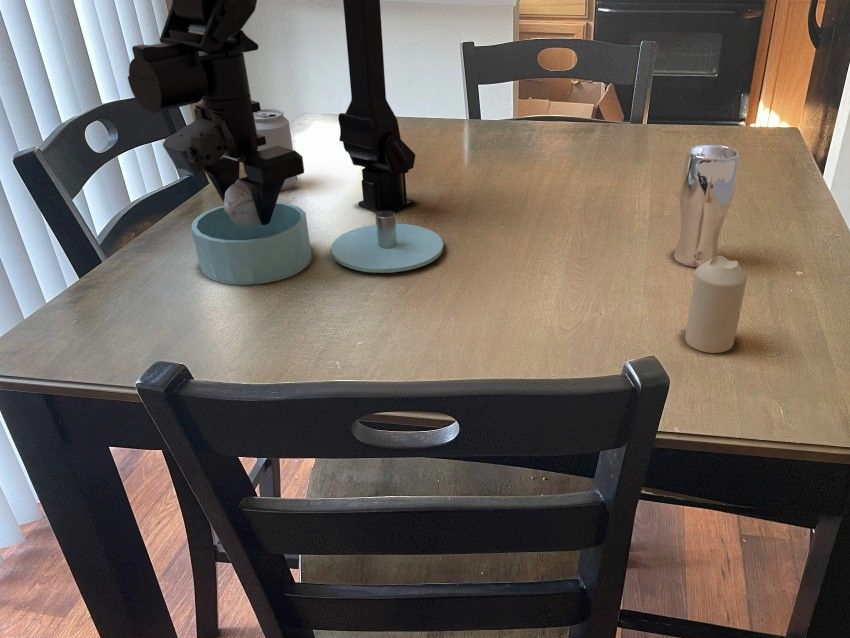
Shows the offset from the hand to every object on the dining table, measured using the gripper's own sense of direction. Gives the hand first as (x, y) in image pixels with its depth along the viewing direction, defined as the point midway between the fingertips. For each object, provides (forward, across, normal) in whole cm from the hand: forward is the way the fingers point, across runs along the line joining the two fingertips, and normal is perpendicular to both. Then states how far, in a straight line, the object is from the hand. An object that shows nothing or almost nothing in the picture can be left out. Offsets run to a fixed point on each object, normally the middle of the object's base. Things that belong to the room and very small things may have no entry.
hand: (249, 218), depth 101 cm
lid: (+6, +12, +13) cm, 19 cm away
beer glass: (+6, +47, +38) cm, 61 cm away
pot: (+6, 0, 0) cm, 6 cm away
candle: (+6, +58, +18) cm, 61 cm away
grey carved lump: (+2, 0, 0) cm, 2 cm away
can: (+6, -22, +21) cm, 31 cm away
